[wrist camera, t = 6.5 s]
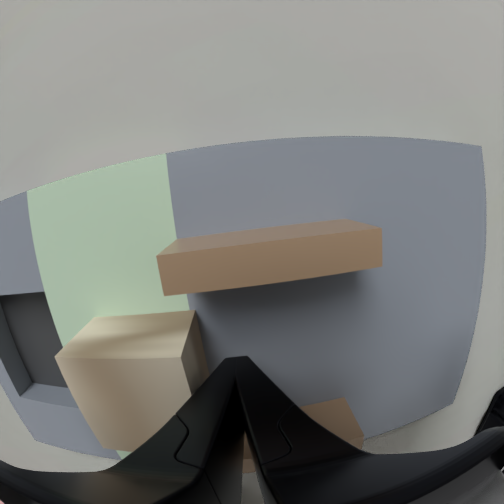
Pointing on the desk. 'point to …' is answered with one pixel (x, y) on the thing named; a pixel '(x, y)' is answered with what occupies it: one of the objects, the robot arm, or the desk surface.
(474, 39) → the desk surface
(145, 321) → the birch block
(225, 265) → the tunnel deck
